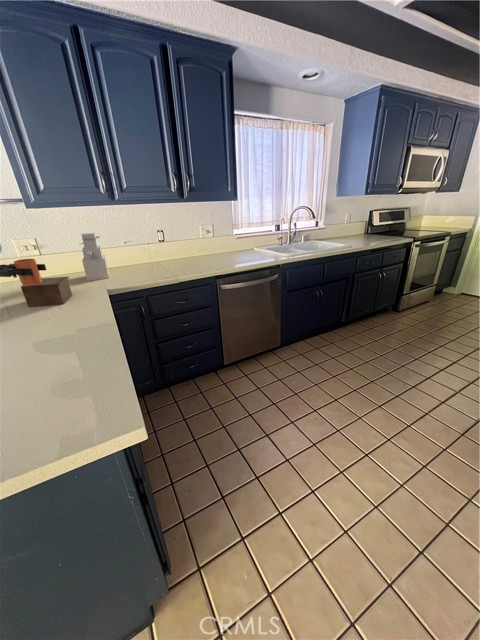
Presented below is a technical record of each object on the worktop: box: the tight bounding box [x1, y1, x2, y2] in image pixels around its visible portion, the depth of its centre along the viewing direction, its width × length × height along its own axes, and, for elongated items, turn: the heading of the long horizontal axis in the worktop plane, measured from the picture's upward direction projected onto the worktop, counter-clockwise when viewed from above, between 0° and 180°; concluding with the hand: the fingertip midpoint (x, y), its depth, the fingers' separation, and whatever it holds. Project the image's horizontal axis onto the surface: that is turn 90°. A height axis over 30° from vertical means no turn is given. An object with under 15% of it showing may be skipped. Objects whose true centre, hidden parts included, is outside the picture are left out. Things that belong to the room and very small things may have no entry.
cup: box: [13, 258, 43, 286], centre depth 115 cm, size 7×7×10 cm
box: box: [20, 278, 73, 308], centre depth 135 cm, size 16×14×10 cm
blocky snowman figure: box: [79, 232, 110, 282], centre depth 173 cm, size 13×24×28 cm, turn 24°
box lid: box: [20, 276, 70, 289], centre depth 133 cm, size 16×14×1 cm
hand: (38, 269), depth 115 cm, fingers closed on cup, 7 cm apart
